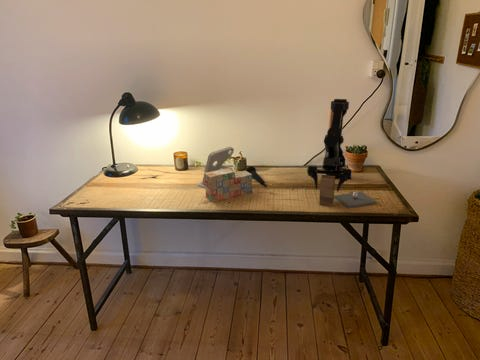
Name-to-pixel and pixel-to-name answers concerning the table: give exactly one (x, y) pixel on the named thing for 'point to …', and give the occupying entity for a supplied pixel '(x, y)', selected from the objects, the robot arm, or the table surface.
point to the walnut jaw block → (327, 190)
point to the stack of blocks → (227, 184)
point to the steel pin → (355, 195)
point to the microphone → (255, 175)
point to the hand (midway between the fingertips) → (326, 190)
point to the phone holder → (220, 158)
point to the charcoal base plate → (355, 200)
